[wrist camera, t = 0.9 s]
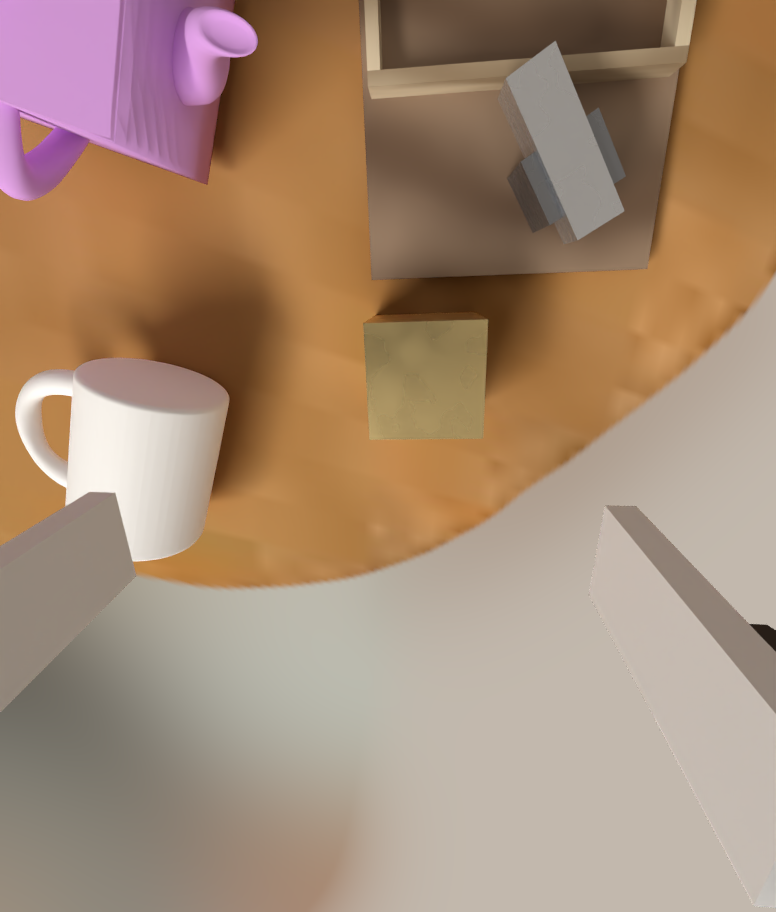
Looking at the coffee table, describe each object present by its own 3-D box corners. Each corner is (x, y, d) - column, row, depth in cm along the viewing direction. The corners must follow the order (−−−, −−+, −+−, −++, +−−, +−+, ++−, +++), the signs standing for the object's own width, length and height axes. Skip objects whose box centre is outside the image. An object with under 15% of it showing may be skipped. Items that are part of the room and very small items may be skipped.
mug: (249, 388, 30) (191, 424, 22) (222, 513, 33) (164, 579, 26) (73, 328, 29) (-48, 344, 22) (65, 461, 33) (-41, 514, 25)
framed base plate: (347, -325, 18) (334, -423, 16) (737, -386, 17) (792, -503, 14) (374, 279, 26) (368, 279, 24) (637, 269, 25) (661, 267, 23)
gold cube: (375, 315, 27) (363, 323, 22) (474, 311, 27) (488, 319, 21) (379, 409, 29) (369, 439, 24) (471, 408, 29) (483, 438, 23)
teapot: (98, 255, 27) (-95, 237, 17) (-52, -6, 23) (-425, -233, 13) (321, 134, 24) (247, 25, 14) (193, -191, 20) (-44, -680, 10)
